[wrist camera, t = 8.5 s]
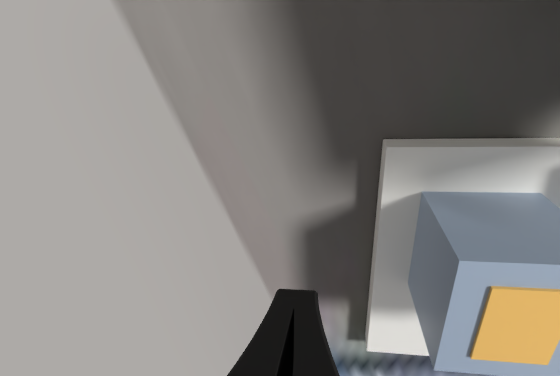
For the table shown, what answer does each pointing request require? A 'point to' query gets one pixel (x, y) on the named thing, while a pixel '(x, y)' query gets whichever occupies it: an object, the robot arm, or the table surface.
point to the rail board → (405, 207)
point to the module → (488, 282)
